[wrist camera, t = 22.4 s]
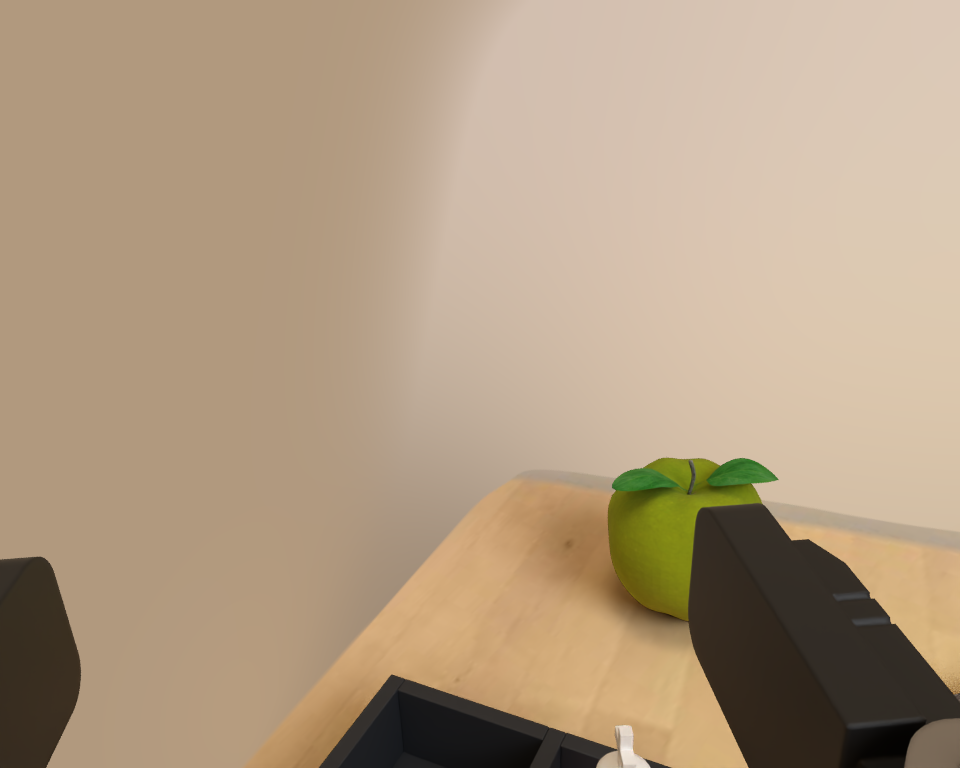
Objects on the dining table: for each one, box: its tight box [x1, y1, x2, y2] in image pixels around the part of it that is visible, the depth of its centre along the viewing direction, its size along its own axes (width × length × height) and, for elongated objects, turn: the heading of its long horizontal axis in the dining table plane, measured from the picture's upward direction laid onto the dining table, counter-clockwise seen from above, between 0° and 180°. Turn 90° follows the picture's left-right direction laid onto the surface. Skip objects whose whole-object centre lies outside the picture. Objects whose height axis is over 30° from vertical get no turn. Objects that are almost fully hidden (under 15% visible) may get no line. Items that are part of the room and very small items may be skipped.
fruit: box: [608, 458, 778, 621], centre depth 48 cm, size 9×9×10 cm
